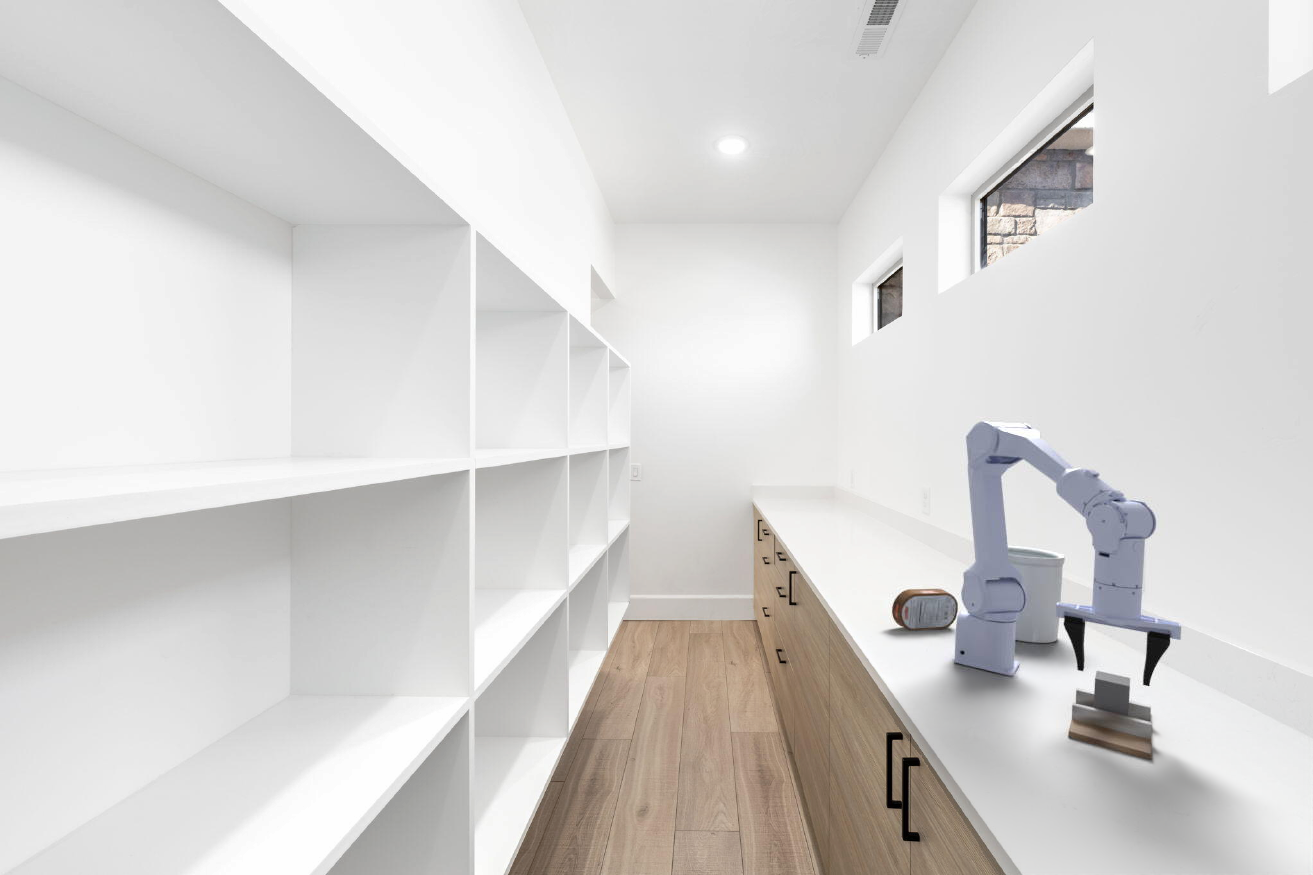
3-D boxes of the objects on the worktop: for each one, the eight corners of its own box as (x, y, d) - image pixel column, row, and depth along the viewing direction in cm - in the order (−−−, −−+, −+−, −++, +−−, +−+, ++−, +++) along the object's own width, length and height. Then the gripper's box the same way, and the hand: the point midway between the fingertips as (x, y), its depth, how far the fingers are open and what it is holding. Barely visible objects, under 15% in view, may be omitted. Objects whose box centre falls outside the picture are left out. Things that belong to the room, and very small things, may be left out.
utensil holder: (985, 617, 143) (989, 541, 142) (1062, 631, 134) (1066, 551, 134) (974, 633, 131) (978, 550, 131) (1058, 650, 122) (1062, 561, 122)
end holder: (1068, 736, 86) (1069, 716, 86) (1078, 695, 100) (1079, 678, 100) (1151, 759, 81) (1152, 738, 81) (1149, 712, 95) (1150, 694, 95)
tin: (949, 624, 136) (951, 586, 136) (959, 629, 133) (961, 590, 133) (890, 628, 132) (891, 589, 132) (899, 633, 129) (901, 592, 129)
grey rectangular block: (1093, 719, 90) (1095, 678, 90) (1094, 710, 93) (1096, 670, 93) (1127, 728, 88) (1129, 686, 87) (1128, 718, 91) (1130, 677, 91)
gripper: (1055, 579, 91) (1050, 670, 92) (1184, 598, 83) (1178, 699, 83) (1060, 571, 97) (1056, 657, 97) (1181, 589, 88) (1176, 683, 88)
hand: (1112, 676), depth 90 cm, fingers open, 7 cm apart
